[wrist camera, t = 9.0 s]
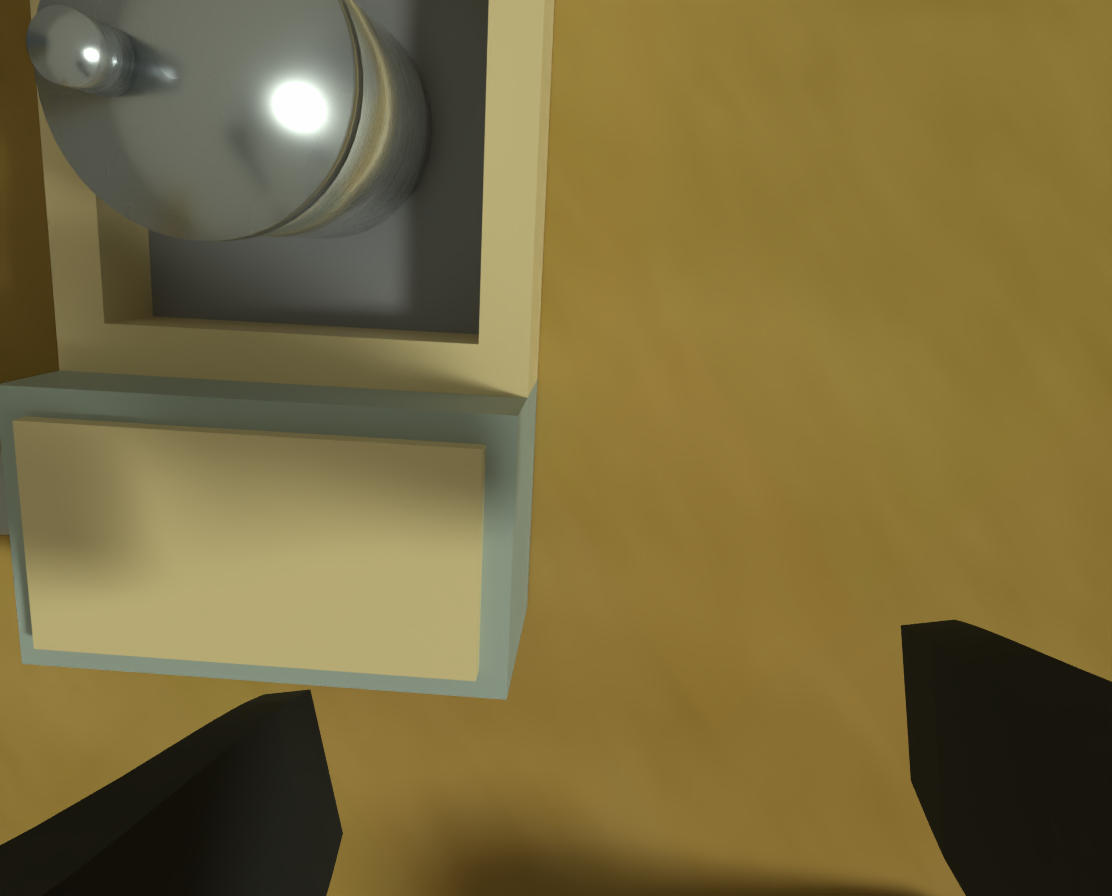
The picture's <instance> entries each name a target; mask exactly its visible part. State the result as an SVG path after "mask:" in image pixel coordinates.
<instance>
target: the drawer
mask: <svg viewBox="0 0 1112 896" xmlns="http://www.w3.org/2000/svg"><path fill="white" fill-rule="evenodd" d="M39 1H40V0H30V10H31V20H32V19H33V17H34V16H35V15H36V14H37V9H38V5H39ZM355 1H356V2H357V3H358V4H359V5H360V6H361V7H362V8H364V9H365V10H366V11H367V12H368V13H369V14H370V15H371V16H372V17H373V18H375V19H376V20H377V21H378V22H379V23H380V24H381V25H382V26H383V27H384V28H386V29H387V30H388V31H389V32H390V33H391V34H392V35H393V36H394V37H395V38H396V39H397V40H398V41H399V42H400V43H401V45H402V46H403V47H404V48H405V49H406V51H407V52H408V54H409V55H410V57H411V58H412V60H413V61H414V63H415V65H416V67H417V69H418V71H419V73H420V75H421V78H422V80H423V83H424V86H425V89H426V92H427V96H428V101H429V105H430V114H431V141H430V148H429V154H428V157H427V161H426V164H425V168H424V170H423V173H422V175H421V177H420V180H419V182H418V183H417V185H416V187H415V189H414V190H413V192H412V194H411V195H410V196H409V198H408V199H407V200H406V201H405V203H404V204H403V205H402V206H401V207H400V208H399V209H398V210H397V211H396V212H395V213H394V214H393V215H392V216H390V217H389V218H388V219H386V220H385V221H384V222H382V223H381V224H379V225H377V226H375V227H373V228H372V229H370V230H367V231H365V232H362V233H359V234H357V235H352V236H348V237H343V238H332V239H325V238H297V237H270V236H256V237H252V238H248V239H243V240H233V241H199V240H186V239H181V238H176V237H171V236H167V235H164V234H161V233H158V232H155V231H152V230H149V229H147V228H145V227H143V226H141V225H139V224H136V223H134V222H132V221H130V220H129V219H127V218H126V217H124V216H123V215H121V214H119V213H118V212H116V211H115V210H113V209H112V208H111V207H109V206H108V205H107V204H106V203H105V202H103V201H102V200H101V199H100V198H99V197H98V196H96V195H95V194H94V193H93V192H92V191H91V190H90V188H89V187H88V186H87V185H86V184H85V183H84V182H83V181H82V180H81V179H80V178H79V176H78V175H77V174H76V172H75V171H74V170H73V168H72V167H71V166H70V164H69V163H68V162H67V160H66V158H65V157H64V155H63V153H62V152H61V150H60V148H59V146H58V145H57V143H56V141H55V139H54V137H53V134H52V132H51V130H50V128H49V125H48V123H47V121H46V118H45V115H44V112H43V108H42V105H41V102H40V99H39V94H38V89H37V97H38V110H39V122H40V134H41V147H42V159H43V172H44V184H45V197H46V209H47V222H48V234H49V246H50V259H51V271H52V284H53V296H54V309H55V321H56V333H57V346H58V358H59V371H55V372H50V373H46V374H41V375H37V376H32V377H28V378H23V379H19V380H14V381H10V382H5V383H0V443H1V450H0V535H10V545H11V555H12V565H13V576H14V586H15V596H16V606H17V617H18V627H19V637H20V647H21V657H22V664H33V665H46V666H60V667H73V668H87V669H100V670H114V671H127V672H141V673H154V674H168V675H181V676H195V677H208V678H222V679H235V680H249V681H262V682H276V683H289V684H303V685H316V686H330V687H343V688H357V689H370V690H384V691H397V692H411V693H424V694H438V695H451V696H465V697H478V698H491V699H505V700H507V695H508V691H509V686H510V682H511V677H512V673H513V668H514V664H515V659H516V655H517V650H518V646H519V641H520V637H521V632H522V628H523V623H524V619H525V614H526V610H527V598H528V576H529V553H530V531H531V509H532V487H533V465H534V443H535V420H536V398H537V376H538V354H539V332H540V309H541V287H542V265H543V243H544V221H545V198H546V176H547V154H548V132H549V110H550V87H551V65H552V43H553V21H554V0H355ZM36 85H37V84H36Z"/></svg>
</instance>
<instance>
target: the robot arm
mask: <svg viewBox="0 0 1112 896" xmlns="http://www.w3.org/2000/svg"><path fill="white" fill-rule="evenodd" d="M901 635H902V650H903V666H904V681H905V696H906V712H907V727H908V743H909V758H910V773H911V782H912V784H913V787H914V789H915V791H916V794H917V796H918V799H919V801H920V804H921V806H922V808H923V811H924V813H925V816H926V818H927V820H928V823H929V825H930V827H931V830H932V832H933V834H934V836H935V839H936V841H937V843H938V845H939V848H940V850H941V852H942V854H943V857H944V859H945V860H946V862H947V864H948V866H949V867H950V869H951V871H952V873H953V874H954V876H955V878H956V880H957V881H958V883H959V885H960V886H961V888H962V890H963V891H964V893H965V895H966V896H1112V682H1111V681H1108V680H1106V679H1104V678H1101V677H1099V676H1096V675H1094V674H1091V673H1089V672H1086V671H1084V670H1081V669H1079V668H1077V667H1074V666H1072V665H1069V664H1067V663H1064V662H1062V661H1060V660H1057V659H1055V658H1053V657H1050V656H1048V655H1045V654H1043V653H1041V652H1038V651H1036V650H1034V649H1031V648H1029V647H1026V646H1024V645H1022V644H1019V643H1017V642H1015V641H1012V640H1010V639H1007V638H1005V637H1003V636H1000V635H998V634H995V633H993V632H990V631H987V630H985V629H982V628H980V627H977V626H974V625H971V624H968V623H965V622H961V621H958V620H947V621H938V622H929V623H920V624H910V625H901ZM342 835H343V832H342V828H341V823H340V819H339V814H338V810H337V806H336V801H335V797H334V792H333V788H332V783H331V779H330V775H329V770H328V766H327V761H326V757H325V753H324V748H323V744H322V739H321V735H320V730H319V726H318V722H317V717H316V713H315V708H314V704H313V699H312V695H311V691H310V690H302V691H293V692H283V693H274V694H265V695H262V696H259V697H257V698H255V699H252V700H250V701H248V702H246V703H244V704H242V705H240V706H238V707H236V708H234V709H233V710H231V711H229V712H227V713H225V714H224V715H222V716H220V717H218V718H217V719H215V720H213V721H212V722H210V723H208V724H207V725H205V726H203V727H202V728H200V729H198V730H197V731H195V732H194V733H192V734H190V735H189V736H187V737H185V738H184V739H182V740H180V741H179V742H177V743H176V744H174V745H172V746H171V747H169V748H167V749H166V750H164V751H163V752H161V753H159V754H158V755H156V756H155V757H153V758H151V759H150V760H148V761H146V762H145V763H143V764H142V765H140V766H138V767H137V768H135V769H133V770H132V771H130V772H129V773H127V774H125V775H124V776H122V777H120V778H119V779H117V780H115V781H113V782H112V783H110V784H108V785H107V786H105V787H103V788H101V789H100V790H98V791H96V792H94V793H93V794H91V795H89V796H88V797H86V798H84V799H82V800H81V801H79V802H77V803H75V804H74V805H72V806H70V807H69V808H67V809H65V810H63V811H62V812H60V813H58V814H56V815H55V816H53V817H51V818H50V819H48V820H46V821H44V822H43V823H41V824H39V825H37V826H36V827H34V828H32V829H30V830H28V831H26V832H24V833H23V834H21V835H19V836H17V837H15V838H13V839H11V840H9V841H8V842H6V843H4V844H2V845H0V896H326V894H327V891H328V888H329V884H330V881H331V877H332V874H333V870H334V866H335V862H336V858H337V854H338V850H339V846H340V842H341V838H342Z"/></svg>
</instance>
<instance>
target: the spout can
mask: <svg viewBox="0 0 1112 896" xmlns="http://www.w3.org/2000/svg"><path fill="white" fill-rule="evenodd" d="M26 44H27V51H28V54H29V57H30V60H31V62H32V64H33V65H34V70H35V78H36V84H37V89H38V94H39V99H40V102H41V105H42V108H43V112H44V115H45V118H46V121H47V123H48V125H49V128H50V130H51V132H52V134H53V137H54V139H55V141H56V143H57V145H58V146H59V148H60V150H61V152H62V153H63V155H64V157H65V158H66V160H67V162H68V163H69V164H70V166H71V167H72V168H73V170H74V171H75V172H76V174H77V175H78V176H79V178H80V179H81V180H82V181H83V182H84V183H85V184H86V185H87V186H88V187H89V188H90V190H91V191H92V192H93V193H94V194H95V195H96V196H98V197H99V198H100V199H101V200H102V201H103V202H105V203H106V204H107V205H108V206H109V207H111V208H112V209H113V210H115V211H116V212H118V213H119V214H121V215H123V216H124V217H126V218H127V219H129V220H130V221H132V222H134V223H136V224H139V225H141V226H143V227H145V228H147V229H149V230H152V231H155V232H158V233H161V234H164V235H167V236H171V237H176V238H181V239H186V240H199V241H233V240H243V239H248V238H252V237H256V236H270V237H297V238H325V239H332V238H343V237H348V236H352V235H357V234H359V233H362V232H365V231H367V230H370V229H372V228H373V227H375V226H377V225H379V224H381V223H382V222H384V221H385V220H386V219H388V218H389V217H390V216H392V215H393V214H394V213H395V212H396V211H397V210H398V209H399V208H400V207H401V206H402V205H403V204H404V203H405V201H406V200H407V199H408V198H409V196H410V195H411V194H412V192H413V190H414V189H415V187H416V185H417V183H418V182H419V180H420V177H421V175H422V173H423V170H424V168H425V164H426V161H427V157H428V154H429V148H430V141H431V114H430V105H429V101H428V96H427V92H426V89H425V86H424V83H423V80H422V78H421V75H420V73H419V71H418V69H417V67H416V65H415V63H414V61H413V60H412V58H411V57H410V55H409V54H408V52H407V51H406V49H405V48H404V47H403V46H402V45H401V43H400V42H399V41H398V40H397V39H396V38H395V37H394V36H393V35H392V34H391V33H390V32H389V31H388V30H387V29H386V28H384V27H383V26H382V25H381V24H380V23H379V22H378V21H377V20H376V19H375V18H373V17H372V16H371V15H370V14H369V13H368V12H367V11H366V10H365V9H364V8H362V7H361V6H360V5H359V4H358V3H357V2H356V1H355V0H40V1H39V5H38V9H37V14H36V15H35V16H34V17H33V19H32V20H31V22H30V24H29V27H28V30H27V36H26Z"/></svg>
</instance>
